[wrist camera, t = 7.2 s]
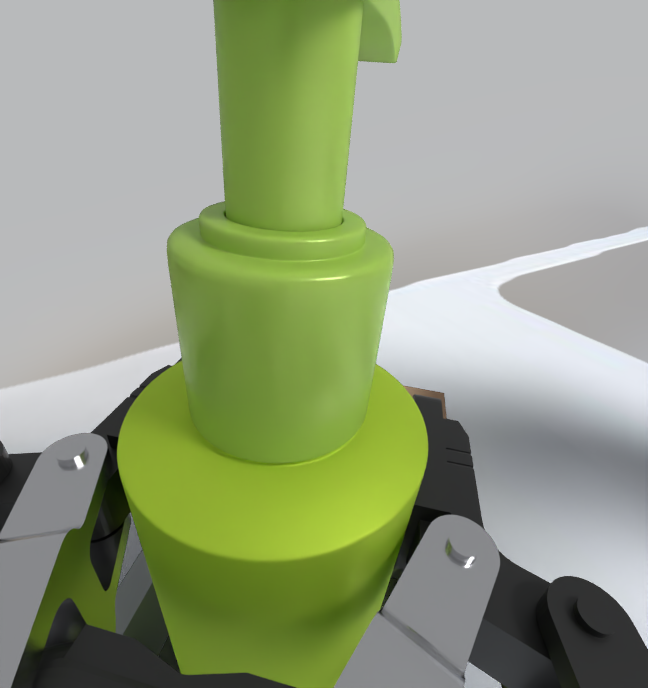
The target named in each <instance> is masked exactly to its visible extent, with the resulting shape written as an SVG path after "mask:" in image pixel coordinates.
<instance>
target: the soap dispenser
mask: <svg viewBox="0 0 648 688" xmlns="http://www.w3.org/2000/svg"><path fill="white" fill-rule="evenodd" d="M213 2H214V18H215V36H216V54H217V71H218V89H219V106H220V124H221V141H222V158H223V176H224V192H225V201H224V202H220V203H216V204H213V205H211V206H208V207H206V208H205V209H203V210H202V212H201V213H200V215H199V218H197V219H194V220H191V221H189V222H186V223H184V224H182V225H180V226H179V227H177V228H176V229H175V230H174V231H173V232H172V233H171V235H170V236H169V238H168V240H167V256H168V266H169V273H170V280H171V287H172V294H173V301H174V308H175V315H176V321H177V328H178V336H179V342H180V349H181V356H182V361H180V362H178V363H177V364H175V365H173V366H172V367H170V368H169V369H167V370H166V371H164V372H163V373H162V374H160V375H159V376H158V377H157V378H155V379H154V380H153V381H152V382H151V383H150V384H149V385H148V386H147V387H146V388H145V389H144V390H143V391H142V392H141V393H140V394H139V396H138V397H137V398H136V400H135V401H134V403H133V404H132V406H131V407H130V409H129V411H128V412H127V414H126V416H125V419H124V421H123V423H122V426H121V429H120V433H119V438H118V444H117V463H118V469H119V474H120V478H121V481H122V485H123V488H124V491H125V494H126V498H127V501H128V504H129V507H130V511H131V514H132V517H133V520H134V523H135V527H136V530H137V533H138V536H139V540H140V543H141V546H142V549H143V553H144V556H145V559H146V562H147V565H148V569H149V572H150V575H151V578H152V582H153V585H154V588H155V591H156V595H157V598H158V601H159V604H160V607H161V611H162V614H163V617H164V620H165V624H166V627H167V630H168V633H169V637H170V640H171V643H172V646H173V650H174V653H175V656H176V659H177V662H178V666H179V669H180V672H181V674H184V675H199V674H223V673H250V674H253V675H256V676H260V677H263V678H266V679H269V680H273V681H276V682H279V683H283V684H286V685H289V686H293V687H296V688H333V687H334V686H335V684H336V682H337V680H338V679H339V677H340V675H341V673H342V672H343V670H344V668H345V666H346V665H347V663H348V661H349V659H350V658H351V656H352V654H353V652H354V651H355V649H356V647H357V645H358V643H359V642H360V640H361V638H362V636H363V635H364V633H365V631H366V629H367V628H368V626H369V624H370V623H371V621H372V619H373V618H374V616H375V615H376V613H377V612H378V611H379V610H380V609H381V606H382V603H383V599H384V596H385V593H386V590H387V587H388V584H389V581H390V578H391V575H392V572H393V569H394V565H395V562H396V559H397V556H398V553H399V550H400V547H401V544H402V541H403V538H404V534H405V531H406V528H407V525H408V522H409V519H410V516H411V513H412V510H413V507H414V504H415V500H416V497H417V494H418V491H419V488H420V485H421V482H422V479H423V476H424V472H425V469H426V464H427V458H428V436H427V430H426V426H425V422H424V420H423V417H422V414H421V412H420V410H419V408H418V406H417V404H416V403H415V401H414V399H413V398H412V397H411V395H410V394H409V393H408V391H407V390H406V389H405V388H404V387H403V385H402V384H401V383H400V382H399V381H398V380H397V379H395V378H394V377H393V376H392V375H391V374H390V373H388V372H387V371H386V370H384V369H383V368H381V367H380V366H378V365H377V364H376V359H377V353H378V348H379V342H380V337H381V331H382V325H383V320H384V314H385V309H386V303H387V298H388V292H389V286H390V281H391V276H392V269H393V262H394V253H393V249H392V247H391V245H390V243H389V242H388V241H387V240H386V239H385V238H384V237H383V236H381V235H380V234H378V233H376V232H375V231H373V230H371V229H369V228H367V227H366V223H365V222H364V220H363V219H362V218H361V217H360V216H358V215H357V214H355V213H353V212H350V211H348V210H345V209H343V205H344V195H345V185H346V175H347V165H348V155H349V145H350V134H351V125H352V115H353V105H354V95H355V85H356V75H357V65H358V61H367V62H383V63H396V62H397V58H398V54H399V50H400V46H401V16H400V2H399V0H213Z"/></svg>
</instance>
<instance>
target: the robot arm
mask: <svg viewBox="0 0 648 688" xmlns="http://www.w3.org/2000/svg"><path fill="white" fill-rule="evenodd" d="M180 361H182V358H181V359H180V360H179V361H178V362H180ZM178 362H177V363H178ZM177 363H176V364H177ZM170 367H172V366H170V365H168V366H166V367H164V368H162V369H160V370H158V371H156V372H154V373H152V374H151V375H150V376H149V377H148V378H147V379H146V380H145V381H144V382H143V383H142V384H141V385H140V387H139V388H137V389H136V390H134V391H133V392H132V393H131V394H130V397H127V398H126V399H125V400H124V401H123V402H122V403H121V404H120V405H119V406H118V407H117V408H116V409H115V410H114V411H113V412H112V413H111V414H110V415H109V416H108V417H107V418H106V419H105V420H104V421H103V422H102V423H101V424H99V425H98V426H97V427H96V428H95V429H94V430H93V431H92V432H91V433H81V434H75V435H71V436H68V437H65V438H63V439H61V440H58V441H57V442H55V443H53V444H52V445H50V446H49V447H48V448H47V449H45V450H44V451H43V452H41V453H23V454H8V453H7V451H6V449H5V447H4V445H3V444H2V442H1V441H0V688H296V687H293V686H289V685H286V684H283V683H279V682H276V681H273V680H269V679H266V678H263V677H260V676H256V675H253V674H250V673H223V674H199V675H184V674H181V673H179V672H177V671H176V670H175V669H173V668H172V667H171V666H169V665H168V664H167V663H166V662H164V661H163V660H162V659H161V658H159V657H158V656H157V655H156V654H154V653H153V652H152V651H150V650H149V649H148V648H147V647H145V646H144V645H143V644H142V643H140V642H139V641H138V640H137V639H134V638H131V637H128V636H124V635H121V634H118V633H115V632H116V615H115V598H116V592H117V587H118V582H119V577H120V573H121V568H122V563H123V558H124V553H125V548H126V544H127V539H128V534H129V529H130V524H131V516H130V512H131V511H130V507H129V504H128V501H127V498H126V494H125V491H124V488H123V485H122V481H121V478H120V474H119V469H118V463H117V444H118V438H119V433H120V429H121V426H122V423H123V421H124V419H125V416H126V414H127V412H128V411H129V409H130V407H131V406H132V404H133V403H134V401H135V400H136V398H137V397H138V396H139V394H140V393H141V392H142V391H143V390H144V389H145V388H146V387H147V386H148V385H149V384H150V383H151V382H152V381H153V380H154V379H155V378H157V377H158V376H159V375H160V374H162V373H163V372H164V371H166V370H167V369H169V368H170ZM412 398H413V399H414V401H415V403H416V404H417V406H418V408H419V410H420V412H421V414H422V417H423V420H424V422H425V426H426V430H427V436H428V458H427V464H426V469H425V472H424V476H423V479H422V482H421V485H420V488H419V491H418V494H417V497H416V500H415V504H414V507H413V510H412V513H411V516H410V519H409V522H408V525H407V528H406V531H405V534H404V538H403V541H402V544H401V547H400V550H399V553H398V556H397V559H396V562H395V568H398V569H402V570H404V572H403V573H402V575H401V577H400V579H399V580H398V582H397V584H396V586H395V588H394V589H393V591H392V593H391V595H390V597H389V598H388V600H387V602H386V603H385V605H384V607H383V608H382V609H380V610H379V611H378V612H377V613H376V615H375V616H374V618H373V619H372V621H371V623H370V624H369V626H368V628H367V629H366V631H365V633H364V635H363V636H362V638H361V640H360V642H359V643H358V645H357V647H356V649H355V651H354V652H353V654H352V656H351V658H350V659H349V661H348V663H347V665H346V666H345V668H344V670H343V672H342V673H341V675H340V677H339V679H338V680H337V682H336V684H335V686H334V687H333V688H464V684H465V677H464V673H465V669H466V665H467V662H468V661H469V662H470V663H472V664H473V665H475V666H476V667H478V668H479V669H481V670H482V671H484V672H485V673H486V674H488V675H489V676H491V677H492V678H494V679H495V680H497V681H498V682H500V683H501V685H502V688H648V649H647V647H646V646H645V644H644V642H643V640H642V638H641V637H640V635H639V633H638V631H637V629H636V628H635V626H634V624H633V622H632V621H631V619H630V617H629V616H628V614H627V613H626V612H625V611H624V609H623V608H622V607H621V606H620V605H619V603H618V602H617V601H616V600H615V599H614V598H612V597H611V596H610V595H609V594H608V593H607V592H605V591H604V590H603V589H601V588H600V587H598V586H596V585H595V584H593V583H591V582H589V581H587V580H584V579H581V578H578V577H573V576H564V577H559V578H557V579H555V580H554V581H553V582H552V583H549V582H547V581H545V580H543V579H542V578H540V577H538V576H536V575H534V574H532V573H531V572H529V571H527V570H525V569H523V568H521V567H519V566H518V565H516V564H514V563H513V562H511V561H510V560H509V559H507V558H506V557H505V556H504V555H503V554H502V553H501V552H499V550H498V549H497V547H496V545H495V543H494V541H493V540H492V538H491V537H490V535H489V534H488V533H487V532H486V531H485V529H484V527H483V523H482V517H481V511H480V505H479V499H478V492H477V486H476V480H475V474H474V469H473V462H472V456H471V449H470V443H469V437H468V435H467V434H466V432H465V431H464V429H463V428H462V426H461V425H460V423H459V422H458V421H455V420H450V419H444V418H443V410H442V401H441V399H439V398H433V397H428V396H422V395H417V394H414V395H413V397H412Z"/></svg>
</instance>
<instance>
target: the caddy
mask: <svg viewBox="0 0 648 688" xmlns="http://www.w3.org/2000/svg"><path fill="white" fill-rule="evenodd" d="M403 572H404V570H402V569H398V568H395V565H394V569H393V572H392V575H391V577H392V578H396V579H398V580H399V579H400V577H401V575H402V573H403ZM115 615H116V632H115V633H118V634H121V635H124V636H128V637H131V638H134V639H137V640H138V641H139V642H140V643H142V644H143V645H144V646H145V647H147V648H148V649H149V650H150V651H152V652H153V653H154V654H156V655H157V656H159V654H160V651H161V649H162V647H163V645H164V643H165V641H166V639H167V637H168V635H169V633H168V630H167V627H166V624H165V620H164V617H163V614H162V611H161V607H160V604H159V601H158V598H157V595H156V591H155V588H154V585H153V582H152V578H151V575H150V572H149V569H148V565H147V562H146V559H145V556H144V553H143V549H142V551H141V552H140V554H139V556H138V557H137V559H136V560H135V562H134V563H133V565H132V567H131V568H130V570H129V571H128V573H127V574H126V576H125V578H124V579H123V581H122V582H121V584H120V586H119V587H118V589H117V592H116V598H115Z"/></svg>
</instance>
